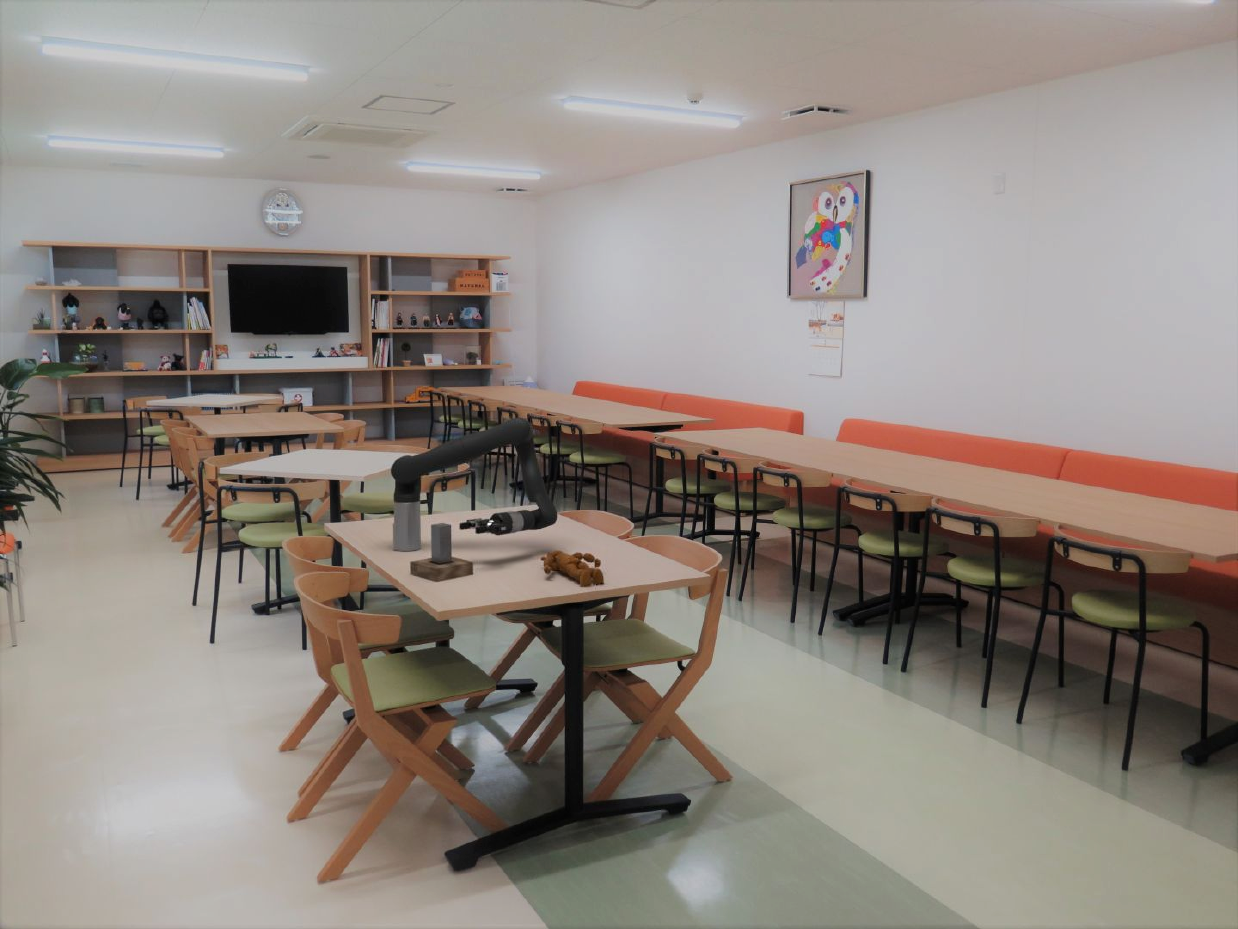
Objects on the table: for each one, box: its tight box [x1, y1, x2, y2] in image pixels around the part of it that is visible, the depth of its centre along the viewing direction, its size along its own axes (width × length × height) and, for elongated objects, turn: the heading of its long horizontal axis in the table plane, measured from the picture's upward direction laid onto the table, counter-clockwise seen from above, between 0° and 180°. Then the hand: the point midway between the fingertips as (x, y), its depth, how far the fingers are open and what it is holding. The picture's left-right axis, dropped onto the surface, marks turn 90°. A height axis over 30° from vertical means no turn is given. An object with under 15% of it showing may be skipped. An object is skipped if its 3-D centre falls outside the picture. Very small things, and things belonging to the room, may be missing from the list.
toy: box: [540, 550, 605, 588], centre depth 312 cm, size 20×7×30 cm
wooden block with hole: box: [409, 556, 474, 583], centre depth 312 cm, size 14×14×4 cm
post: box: [430, 522, 453, 565], centre depth 311 cm, size 4×4×16 cm
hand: (468, 528), depth 318 cm, fingers open, 8 cm apart
